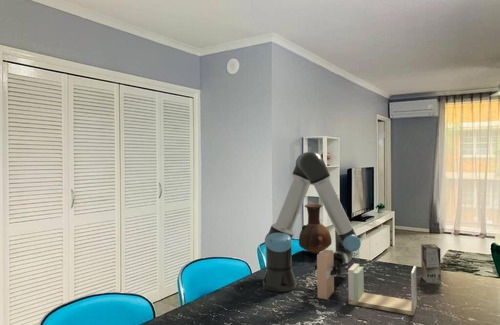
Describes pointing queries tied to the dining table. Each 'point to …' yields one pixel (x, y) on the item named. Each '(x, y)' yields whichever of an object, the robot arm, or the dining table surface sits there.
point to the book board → (385, 303)
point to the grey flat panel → (413, 288)
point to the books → (355, 282)
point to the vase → (314, 232)
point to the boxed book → (323, 265)
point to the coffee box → (431, 263)
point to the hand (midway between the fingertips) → (321, 274)
